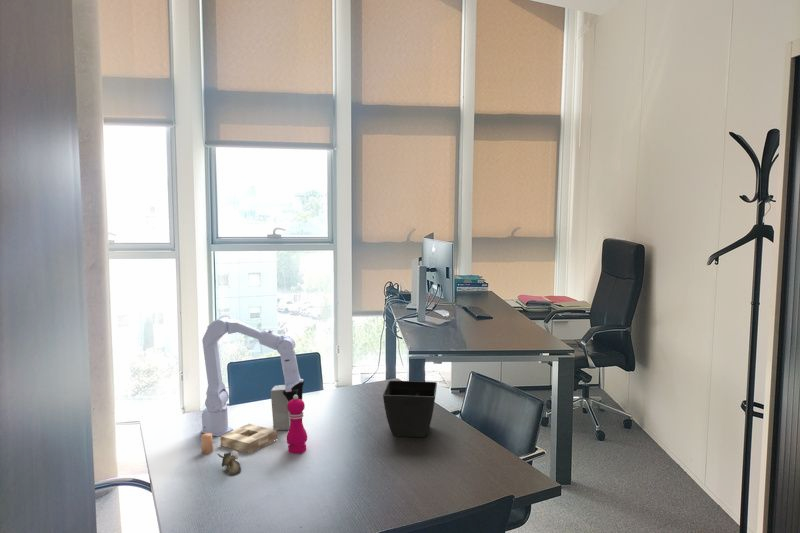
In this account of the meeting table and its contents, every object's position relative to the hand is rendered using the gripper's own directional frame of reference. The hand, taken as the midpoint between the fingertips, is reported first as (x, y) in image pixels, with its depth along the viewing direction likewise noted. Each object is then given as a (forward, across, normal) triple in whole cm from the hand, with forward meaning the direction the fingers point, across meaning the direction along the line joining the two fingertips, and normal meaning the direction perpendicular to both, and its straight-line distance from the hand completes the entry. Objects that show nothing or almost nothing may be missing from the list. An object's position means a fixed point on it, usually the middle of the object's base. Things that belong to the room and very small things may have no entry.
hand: (296, 404), depth 227 cm
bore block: (+8, -12, +16) cm, 22 cm away
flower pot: (+17, +2, -41) cm, 45 cm away
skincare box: (+10, +4, +8) cm, 13 cm away
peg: (+6, -20, +28) cm, 35 cm away
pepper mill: (+11, -18, -3) cm, 21 cm away
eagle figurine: (+8, -35, +15) cm, 39 cm away
